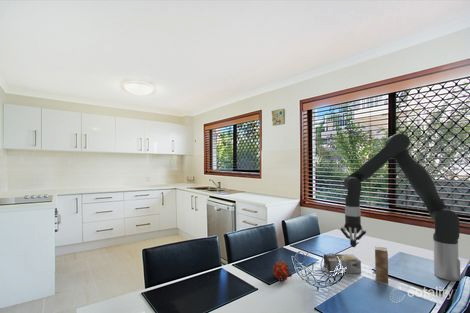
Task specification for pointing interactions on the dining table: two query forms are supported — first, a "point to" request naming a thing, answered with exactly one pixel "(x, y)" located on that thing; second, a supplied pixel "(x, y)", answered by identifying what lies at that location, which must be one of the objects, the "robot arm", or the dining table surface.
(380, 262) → the walnut pillar
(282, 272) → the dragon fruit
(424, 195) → the robot arm
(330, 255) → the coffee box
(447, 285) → the dining table surface
